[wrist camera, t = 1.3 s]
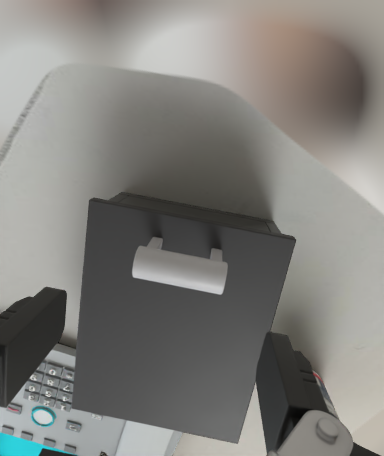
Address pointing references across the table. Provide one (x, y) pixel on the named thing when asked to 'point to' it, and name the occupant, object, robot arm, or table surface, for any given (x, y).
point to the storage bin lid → (174, 317)
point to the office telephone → (71, 419)
